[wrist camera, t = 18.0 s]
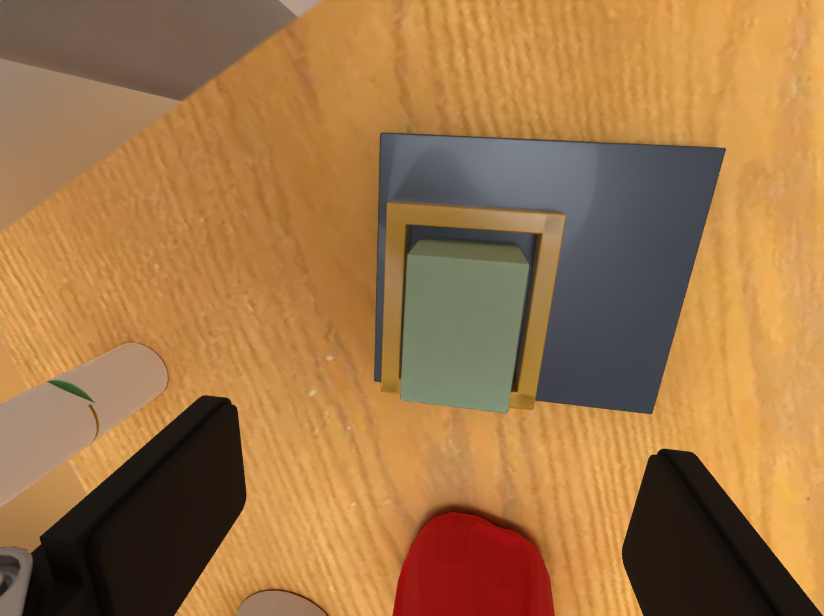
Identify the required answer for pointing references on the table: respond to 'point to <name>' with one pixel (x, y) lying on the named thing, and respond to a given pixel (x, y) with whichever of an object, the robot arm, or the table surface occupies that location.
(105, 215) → the table surface
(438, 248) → the sage green block
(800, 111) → the table surface
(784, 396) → the table surface
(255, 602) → the mug
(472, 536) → the water bottle
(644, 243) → the backing plate
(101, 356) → the tube
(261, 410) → the table surface
